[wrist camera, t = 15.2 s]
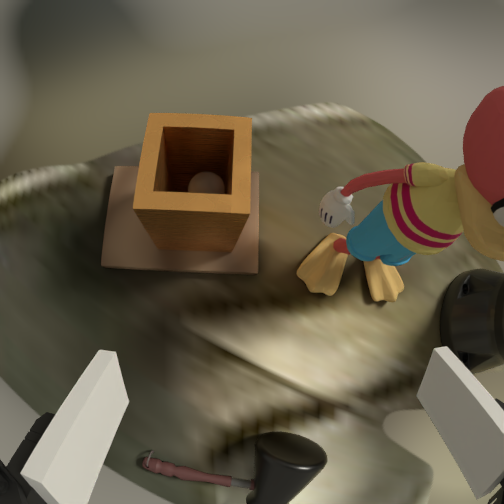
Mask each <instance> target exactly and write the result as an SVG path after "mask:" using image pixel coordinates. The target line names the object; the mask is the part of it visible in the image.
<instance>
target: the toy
mask: <svg viewBox="0 0 504 504" xmlns="http://www.w3.org/2000/svg"><path fill="white" fill-rule="evenodd" d="M463 154H464V163H465V164H464V165H461V166H459V167H458V169H457V170H454V169H449V168H443V167H442V166H438V165H435V164H430V163H424V162H420V163H414V164H409V165H406V166H405V167H404V169H393V170H383V171H378V172H373V173H368V174H364V175H362V176H360V177H357V178H355V179H353V180H351V181H350V182H349V183H348V184H347V185H346V186H345V187H337V188H336V189H335V190H332V191H329V192H328V193H327V194H326V195H325V196H324V197H323V199H322V200H321V202H320V207H319V215H320V219H321V221H322V222H323V223H324V224H325V225H326V226H328V227H333V228H334V227H336V226H338V225H339V224H340V223H341V222H343V221H344V220H346V221H347V222H348V223H349V224H350V225H353V224H354V211H353V209H352V207H351V205H350V204H349V203H350V202H351V201H352V198H353V196H352V194H353V193H354V192H356V191H359V190H362V189H364V188H367V187H372V186H377V185H383V184H391V183H392V184H391V185H390V186H389V187H388V188H387V190H386V192H385V194H384V196H383V200H382V201H381V202H380V203H379V204H378V205H377V206H376V207H375V208H374V209H373V210H372V212H371V213H370V214H369V215H368V216H367V217H366V218H365V219H364V220H363V221H362V222H361V223H360V224H359V225H358V226H356V227H353V228H352V229H351V230H350V231H349V233H348V235H347V238H345V237H344V236H343V235H339V234H335V233H330V234H329V235H328V236H327V237H326V238H325V239H323V240H322V241H321V243H320V244H319V245H318V246H317V247H316V248H315V249H314V250H313V251H312V252H311V253H310V254H309V255H308V256H307V258H306V259H305V260H304V261H303V262H302V264H301V265H300V267H299V268H298V270H297V276H298V277H299V278H300V279H302V280H303V281H304V282H305V283H306V286H307V288H308V290H309V291H310V292H312V293H319V292H323V293H325V294H327V295H329V296H332V295H333V294H335V292H336V290H337V288H338V286H339V283H340V280H341V277H342V273H343V270H344V266H345V263H346V259H347V256H348V255H349V254H352V255H353V256H354V257H356V258H358V259H359V260H361V261H363V262H364V267H365V272H366V278H367V282H368V286H369V290H370V294H371V297H372V298H373V300H374V301H380V300H385V301H389V302H395V301H396V299H397V295H398V293H400V292H402V291H403V289H404V285H403V282H402V279H401V277H400V275H399V274H398V272H397V270H396V268H395V267H394V266H399V265H402V264H404V263H407V262H408V261H409V260H410V258H411V256H413V255H414V254H416V253H417V254H423V255H432V254H437V253H439V252H441V251H442V250H444V249H445V248H447V247H448V246H450V245H451V244H452V243H453V242H454V241H455V240H456V239H457V238H458V237H459V236H460V235H461V233H462V232H463V231H464V234H465V236H466V238H467V239H468V241H469V243H470V244H471V246H472V247H473V248H474V249H476V250H477V251H478V252H480V253H481V254H483V255H485V256H487V257H489V258H491V259H496V260H500V261H504V86H502V87H499V88H496V89H494V90H493V91H491V92H490V93H488V94H487V95H486V96H485V97H484V99H483V100H482V102H481V103H480V104H479V106H478V107H477V108H476V110H475V111H474V112H473V114H472V115H471V117H470V119H469V121H468V123H467V126H466V130H465V134H464V137H463Z"/></svg>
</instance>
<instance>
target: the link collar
mask: <svg viewBox="0 0 504 504" xmlns="http://www.w3.org/2000/svg"><path fill="white" fill-rule="evenodd" d="M251 135H252V118H246V117H235V116H221V115H203V114H180V113H179V114H178V113H150V114H149V118H148V124H147V128H146V133H145V137H144V142H143V147H142V153H141V158H140V164H139V170H138V176H137V182H136V189H135V195H134V202H133V210H134V212H135V213H136V215H137V217H138V218H139V220H140V221H141V223H142V225H143V226H144V228H145V230H146V231H147V233H148V234H149V236H150V237H151V239H152V241H153V242H154V244H155V245H156V247H157V248H158V249H166V250H188V251H210V252H232V251H233V249H234V247H235V245H236V243H237V241H238V239H239V237H240V234H241V232H242V230H243V228H244V226H245V224H246V222H247V220H248V218H249V216H250V198H251ZM201 172H213V173H215V174H217V175H218V176H219V177H220V178H221V179H222V180H223V182H224V185H225V194H207V193H186V192H188V186H189V183H190V181H191V179H192V178H193V177H194V176H195V175H197V174H198V173H201ZM175 191H176V192H175Z"/></svg>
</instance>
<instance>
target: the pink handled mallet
mask: <svg viewBox="0 0 504 504" xmlns="http://www.w3.org/2000/svg"><path fill="white" fill-rule="evenodd" d="M152 453H154V451H153V450H152V451H151V452H150V454H149V456H148V457H145V458H144V459H143V463H142V466H143V467H144V468H145V469H147V470H150V471H152V472H154V473H161V474H162V475H165V476H169V477H172V476H174V475H175V476H176V477H178V478H179V479H181V480H188V481H204V482H210V483H214V484H218V485H222V486H226V487H230V486H236V487H243V488H249V489H250V490H253V491H252V492H251V493H249V494H248V495H247V497H246V502H247V504H289V502H290V501H291V500H292V499H293V498H294V497H295V496H296V495H298V494H299V493H300V492H301V491H302V490H303V489H304V488H305V487H306V486H307V485H308V484H309V483H310V482H311V481H312V480H313V479H314V478H315V477H316V476H317V475H318V474H319V473H320V471H321V470H322V469H323V468H324V467H325V465H326V463H327V455H326V453H325V451H324V450H323V448H322V447H320V446H319V445H318V444H317V443H315V442H313V441H312V440H310V439H308V438H305V437H303V436H300V435H296V434H292V433H287V432H269V433H265V434H263V435H262V436H260V437H259V438H258V439H257V441H256V444H255V458H254V479H251V480H243V479H236V478H232V477H231V476H224V475H214V474H207V473H204V472H201V471H198V470H195V469H192V468H189V467H186V466H179V467H176V466H175V465H174V464H173V463H169V462H162V461H161V460H160V459H156V458H150V456H151V454H152Z"/></svg>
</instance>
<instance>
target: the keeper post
mask: <svg viewBox="0 0 504 504" xmlns="http://www.w3.org/2000/svg"><path fill="white" fill-rule="evenodd" d="M138 170H139V166H115V170H114V175H113V180H112V185H111V191H110V197H109V203H108V210H107V216H106V223H105V231H104V239H103V248H102V258H101V266H103V267H105V268H118V269H136V270H154V271H174V272H195V273H219V274H245V275H256V274H257V273H258V246H259V172H251V198H250V216H249V218H248V220H247V222H246V224H245V226H244V228H243V230H242V232H241V234H240V237H239V239H238V241H237V243H236V245H235V247H234V249H233V251H232V252H210V251H188V250H166V249H158V248H157V247H156V245H155V244H154V242H153V241H152V239H151V237H150V236H149V234H148V233H147V231H146V230H145V228H144V226H143V225H142V223H141V221H140V220H139V218H138V217H137V215H136V213H135V212H134V210H133V202H134V195H135V189H136V182H137V176H138ZM175 192H176V191H175ZM186 193H207V194H225V185H224V182H223V180H222V179H221V178H220V177H219V176H218V175H217V174H215V173H213V172H201V173H198V174H197V175H195V176H194V177H193V178H192V179H191V181H190V183H189V186H188V192H186Z"/></svg>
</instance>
